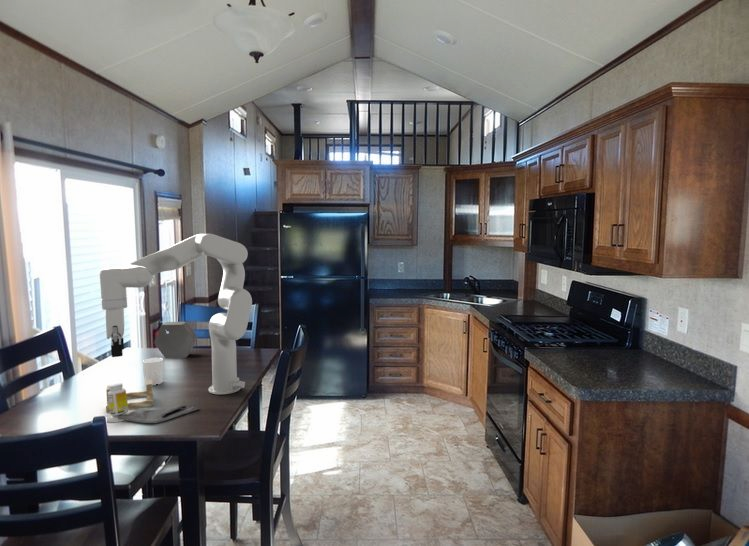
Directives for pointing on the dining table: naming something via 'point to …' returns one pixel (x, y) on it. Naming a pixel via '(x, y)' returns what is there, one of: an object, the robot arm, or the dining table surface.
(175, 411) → the cloth
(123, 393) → the supplement bottle
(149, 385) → the wooden slatted rack
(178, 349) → the planter
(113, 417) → the coaster
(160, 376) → the white cup
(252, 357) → the dining table surface
